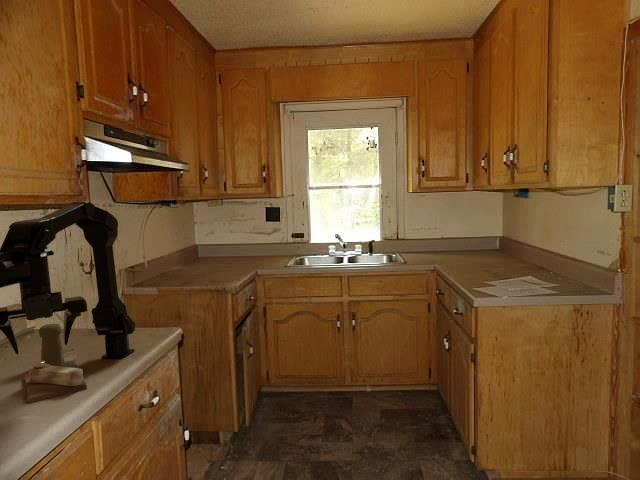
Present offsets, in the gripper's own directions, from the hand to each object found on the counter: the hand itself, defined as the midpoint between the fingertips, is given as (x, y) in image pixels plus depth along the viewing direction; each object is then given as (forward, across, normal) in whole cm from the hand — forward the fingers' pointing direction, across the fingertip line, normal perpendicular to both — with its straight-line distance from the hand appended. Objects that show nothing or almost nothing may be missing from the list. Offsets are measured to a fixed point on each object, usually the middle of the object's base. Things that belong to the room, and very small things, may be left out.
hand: (42, 349), depth 103 cm
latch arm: (+10, +2, +6) cm, 12 cm away
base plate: (+11, +2, +9) cm, 15 cm away
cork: (+12, +3, +25) cm, 27 cm away
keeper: (+11, +3, +12) cm, 17 cm away
